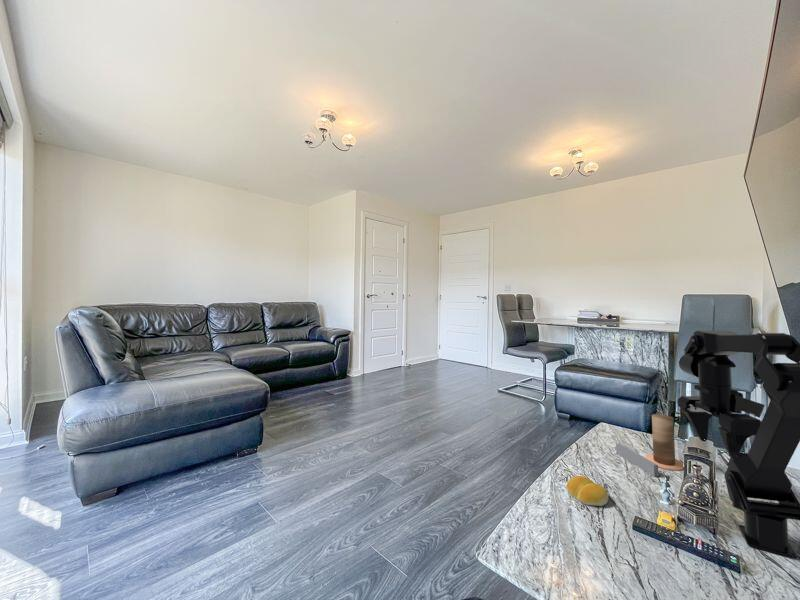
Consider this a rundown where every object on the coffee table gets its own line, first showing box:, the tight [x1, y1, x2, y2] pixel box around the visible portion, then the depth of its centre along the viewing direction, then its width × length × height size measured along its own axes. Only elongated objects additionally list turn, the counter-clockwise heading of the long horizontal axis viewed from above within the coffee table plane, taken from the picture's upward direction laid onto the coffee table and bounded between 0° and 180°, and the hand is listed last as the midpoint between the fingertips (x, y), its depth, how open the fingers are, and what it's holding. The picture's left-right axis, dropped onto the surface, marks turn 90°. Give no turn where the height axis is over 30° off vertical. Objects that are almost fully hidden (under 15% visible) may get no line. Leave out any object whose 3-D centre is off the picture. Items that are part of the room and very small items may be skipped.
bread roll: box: [566, 475, 609, 507], centre depth 81 cm, size 8×9×4 cm
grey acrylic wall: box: [615, 443, 659, 478], centre depth 96 cm, size 14×1×3 cm, turn 4°
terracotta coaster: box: [644, 453, 684, 472], centre depth 96 cm, size 9×9×1 cm
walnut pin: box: [651, 413, 676, 466], centre depth 96 cm, size 5×5×13 cm
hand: (717, 448), depth 78 cm, fingers open, 9 cm apart
